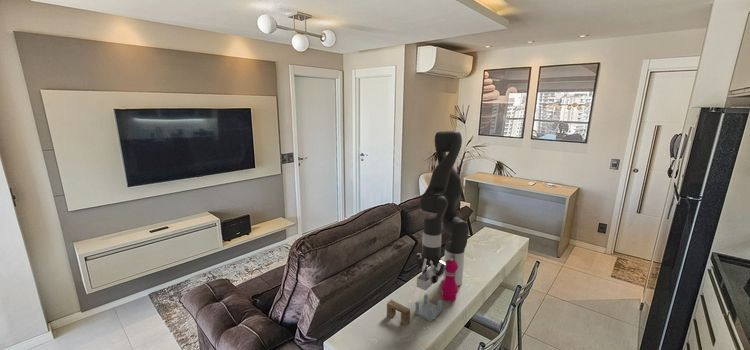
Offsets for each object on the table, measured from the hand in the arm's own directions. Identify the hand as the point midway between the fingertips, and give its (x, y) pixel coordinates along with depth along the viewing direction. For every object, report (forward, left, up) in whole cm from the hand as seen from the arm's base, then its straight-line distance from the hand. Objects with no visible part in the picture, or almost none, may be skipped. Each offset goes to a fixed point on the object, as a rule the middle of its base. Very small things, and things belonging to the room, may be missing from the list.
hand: (429, 280), depth 130 cm
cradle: (0, 0, -15) cm, 15 cm away
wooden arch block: (+12, -7, -15) cm, 20 cm away
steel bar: (-1, 0, 0) cm, 1 cm away
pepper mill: (-15, +2, -15) cm, 21 cm away
